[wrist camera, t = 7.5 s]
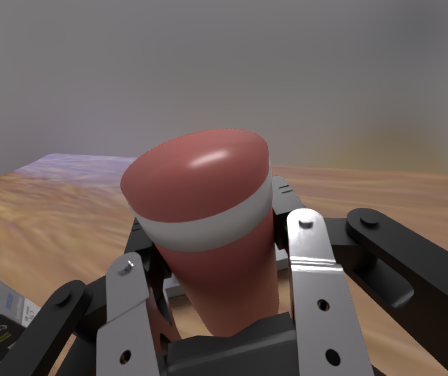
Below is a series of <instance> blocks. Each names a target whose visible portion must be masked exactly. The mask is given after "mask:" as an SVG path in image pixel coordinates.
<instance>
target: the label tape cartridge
mask: <svg viewBox="0 0 448 376" xmlns="http://www.w3.org/2000/svg"><path fill="white" fill-rule="evenodd" d="M40 309H41V308H40V307H38V306H37V305H35V304H34V303H33V302H31V301H30V300H28V299H27V298H25V297H24V296H22V295H21V294H19V293H17V292H16V291H15V290H13V289H12V288H10V287H9V286H7V285H6V284H4V283H3V282H1V281H0V362H1V361H2V360H3V358H4V357H5V356H6V354H7V353H8V352H9V350H10V349H11V348H12V346H13V345H14V344H15V342H16V341H17V340H18V338H19V337H20V336H21V335H22V333H23V332H24V331H25V329H26V328H27V327H28V325H29V324H30V323H31V321H32V320H33V319H34V317H35V316H36V315H37V313H38V312H39V311H40Z"/></svg>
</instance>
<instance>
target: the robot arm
mask: <svg viewBox="0 0 448 376" xmlns="http://www.w3.org/2000/svg"><path fill="white" fill-rule="evenodd" d="M272 190H273V199H272V209H273V223H274V237H275V244H276V246H277V248H278V250H282V249H285V250H286V252H287V254H288V268H289V284H290V301H291V317H290V314H289V312H285V313H282V314H278V315H274V316H270V317H266V318H262V319H259V320H257V321H256V322H254V323H252V324H251V325H249V326H248V327H246V328H244V329H243V330H241V331H239V332H238V333H236V334H235V335H233V336H231V337H216V336H194V337H190V338H186V339H182V338H181V336H180V335H179V332H178V330H177V328H176V324H175V321H174V318H173V315H172V311H171V308H170V305H169V301H168V298H167V295H166V291H165V289H164V288H163V283H164V279H168V278H172V271H171V270H170V268H169V266H168V265H167V263H166V262H165V260H164V258H163V257H162V255H161V254H160V252H159V250H158V249H157V247H156V246H155V244H154V242H153V241H152V240H151V239H150V238H149V237H148V236H147V234H146V233H145V231H144V229H143V228H142V226H141V225H140V223H139V222H138V220H137V218H136V217H135V220H134V223H133V226H132V230H131V231H132V232H131V233H130V236H129V239H128V242H127V245H126V248H125V252H124V255H122V256H120V257H118V258H117V259H116V260H115V261H114V262H113V263H112V264H111V265H110V267H109V268H108V270H107V273H106V275H105V276H103V277H101V278H99V279H98V280H96V281H94V282H92V283H90V284H88V285H86V284H85V283H83V282H82V281H80V280H74V281H70V282H68V283H66V284H64V285H63V286H61V287H60V288H59V289H57V290H56V291H55V292H54V293H53V294H52V295H51V296H50V298H49V299H48V300H47V301H46V303H45V304H44V305H43V307H42V308H41V309H40V311H39V312H38V313H37V315H36V316H35V317H34V319H33V320H32V321H31V323H30V324H29V325H28V327H27V328H26V329H25V331H24V332H23V333H22V335H21V336H20V337H19V338H18V340H17V341H16V342H15V344H14V345H13V346H12V348H11V349H10V350H9V352H8V353H7V354H6V356H5V357H4V358H3V360H2V361H1V362H0V376H48V374H49V372H50V370H51V368H52V366H53V365H54V363H55V361H56V359H57V358H58V356H59V354H60V353H61V351H62V349H63V347H64V346H65V344H66V342H67V341H68V339H69V337H70V336H71V334H74V335H75V336H77V337H76V339H75V341H74V343H73V345H72V346H71V348H70V350H69V352H68V353H67V355H66V357H65V359H64V361H63V362H62V364H61V366H60V368H59V369H58V371H57V373H56V375H55V376H386V375H385V374H384V373H382V372H381V371H380V370H378V369H377V368H376V367H374V366H373V365H372V364H371V362H370V359H369V355H368V352H367V348H366V345H365V342H364V338H363V335H362V331H361V328H360V325H359V321H358V318H357V314H356V311H355V308H354V304H353V301H352V297H351V294H350V291H349V287H348V284H347V280H346V277H345V274H344V272H345V273H346V274H347V275H348V276H349V277H350V278H351V279H352V280H353V281H354V282H355V283H356V284H357V285H359V286H360V287H361V288H362V289H363V290H364V291H365V292H366V293H367V294H368V295H369V296H370V297H371V298H372V299H373V300H374V301H375V302H376V303H377V304H378V305H379V306H381V307H382V308H383V309H384V310H385V311H386V312H387V313H388V314H389V315H390V316H391V317H392V318H393V319H394V320H395V321H396V322H397V323H398V324H399V325H400V326H401V327H402V328H404V329H405V330H406V331H407V332H408V333H409V334H410V335H411V336H412V337H413V338H414V339H415V340H416V341H417V342H418V343H419V344H420V345H421V346H422V347H423V348H424V349H426V350H427V351H428V352H429V353H430V354H431V355H432V356H433V357H434V358H435V359H436V360H437V361H438V362H439V363H440V364H441V365H442V366H443V367H444V368H445V369H446V370H447V371H448V251H446V250H445V249H443V248H441V247H439V246H438V245H436V244H434V243H432V242H431V241H429V240H427V239H426V238H424V237H422V236H420V235H419V234H417V233H415V232H413V231H412V230H410V229H408V228H407V227H405V226H403V225H401V224H400V223H398V222H396V221H394V220H393V219H391V218H389V217H388V216H386V215H384V214H382V213H380V212H378V211H376V210H373V209H368V208H357V209H354V210H352V211H350V212H349V213H348V215H347V218H323V217H322V216H321V215H320V214H319V213H317V212H316V211H313V210H310V209H307V208H306V206H305V205H304V204H303V203H302V201H301V200H300V199H299V197H298V196H297V195H296V193H295V192H294V191H293V190H292V188H291V187H290V186H289V184H288V183H287V182H286V181H285V179H283V178H281V177H279V176H278V175H276V176H272Z"/></svg>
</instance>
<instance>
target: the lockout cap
mask: <svg viewBox="0 0 448 376" xmlns="http://www.w3.org/2000/svg"><path fill="white" fill-rule="evenodd" d="M120 186H121V190H122V192H123V194H124V196H125V197H126V199H127V201H128V204H129V207H130V209H131V210H132V212H133V214H134V215H135V217H136V218H137V220H138V222H139V223H140V225H141V226H142V228H143V229H144V231H145V233H146V234H147V236H148V237H149V238H150V239H151V240H152V241H153V242H154V244H155V246H156V247H157V249H158V250H159V252H160V254H161V255H162V257H163V258H164V260H165V262H166V263H167V265H168V266H169V268H170V270H171V271H172V273H173V275H174V276H175V278H176V279H177V281H178V283H179V284H180V286H181V287H182V289H183V291H184V292H185V294H186V295H187V297H188V299H189V300H190V302H191V303H192V305H193V307H194V308H195V310H196V311H197V313H198V315H199V316H200V318H201V319H202V321H203V323H204V324H205V326H206V327H207V329H208V330H209V331H210V333H211V334H212V335H213V336H216V337H231V336H233V335H235V334H236V333H238V332H239V331H241V330H243V329H244V328H246V327H248V326H249V325H251V324H252V323H254V322H256V321H257V320H259V319H262V318H266V317H270V316H274V315H277V314H278V310H279V292H278V278H277V264H276V250H275V237H274V223H273V209H272V199H273V190H272V175H271V163H270V159H269V154H268V146H267V143H266V141H265V140H264V139H263V138H262V137H261V136H259V135H257V134H256V133H253V132H250V131H246V130H241V129H213V130H206V131H200V132H196V133H192V134H188V135H184V136H181V137H178V138H175V139H173V140H170V141H168V142H165V143H163V144H161V145H159V146H157V147H155V148H153V149H151V150H150V151H148V152H146V153H145V154H143V155H142V156H141V157H139V158H138V159H137V160H135V161H134V162H133V163H132V164H131V165H130V166H129V167H128V168H127V170H126V171H125V173H124V174H123V176H122V179H121V183H120Z"/></svg>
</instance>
